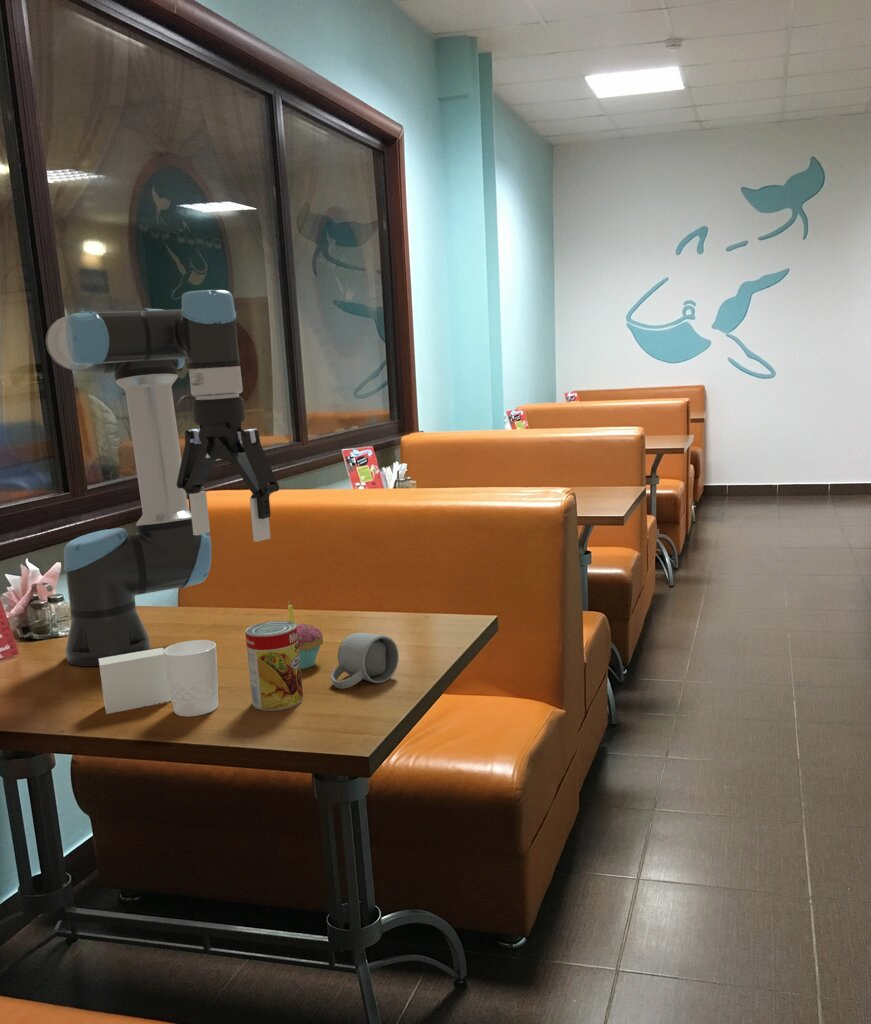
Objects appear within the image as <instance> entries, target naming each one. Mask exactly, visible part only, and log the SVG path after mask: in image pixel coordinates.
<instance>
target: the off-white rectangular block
mask: <svg viewBox="0 0 871 1024" xmlns="http://www.w3.org/2000/svg"><path fill="white" fill-rule="evenodd" d="M164 649H165V648H164V647H159V648H152V649H151V648H150V650H146V651H140V652H134V653H128V654H122V655H117V656H111V657H105V658H99V674H100V681H101V688H102V689H101V690H102V697H103V698H102V699H103V704H104V710H105V714H106V715H109V714H114V713H119V712H124V711H129V710H135V709H139V708H144V706H145V707H149V706H155V705H159V703H160V704H165V703H164V702H166V703H169V701H171V702H173V701H172V696H171V693H170V688H169V682H168V677H167V671H166V665H165V659H164V653H163V651H164ZM154 704H155V705H154Z"/></svg>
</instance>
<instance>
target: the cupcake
mask: <svg viewBox="0 0 871 1024" xmlns="http://www.w3.org/2000/svg"><path fill="white" fill-rule="evenodd" d="M287 603H288V606H287V609H288V614H289V621H290V622H293V623H295V624H296V622H295V616H294V611H293V605H292V604H290V601H287ZM296 626H297V636H298V647H299V658H300V668H301V670H302V669H303V670H304V669H307V668H311V667H313V666H314V665H315V664H316V659H317V656H318V652H319V650H320V648H321V646H322V645H323V644H324V636H323V632H322V631H321V629H319V628H316V627H314V626H313V625H310V624H304V623H299V624H298V623H297V624H296Z"/></svg>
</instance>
